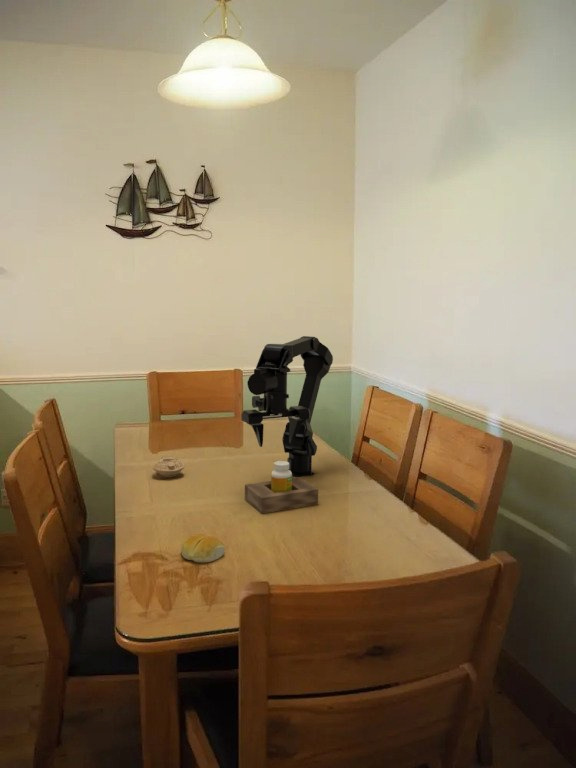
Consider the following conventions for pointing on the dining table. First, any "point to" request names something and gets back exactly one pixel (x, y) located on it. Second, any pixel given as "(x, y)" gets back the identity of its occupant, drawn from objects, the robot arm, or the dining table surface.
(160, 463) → the pottery oil lamp
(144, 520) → the dining table surface
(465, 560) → the dining table surface
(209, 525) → the dining table surface
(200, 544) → the bread roll
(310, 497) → the walnut holder
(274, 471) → the supplement bottle
